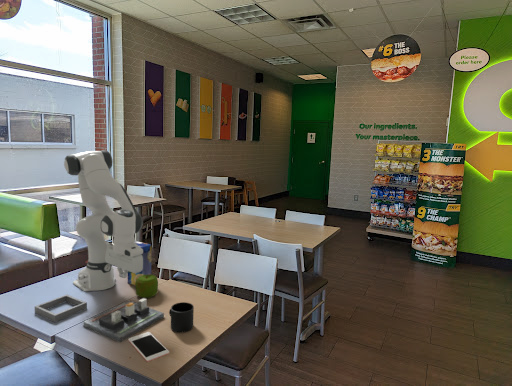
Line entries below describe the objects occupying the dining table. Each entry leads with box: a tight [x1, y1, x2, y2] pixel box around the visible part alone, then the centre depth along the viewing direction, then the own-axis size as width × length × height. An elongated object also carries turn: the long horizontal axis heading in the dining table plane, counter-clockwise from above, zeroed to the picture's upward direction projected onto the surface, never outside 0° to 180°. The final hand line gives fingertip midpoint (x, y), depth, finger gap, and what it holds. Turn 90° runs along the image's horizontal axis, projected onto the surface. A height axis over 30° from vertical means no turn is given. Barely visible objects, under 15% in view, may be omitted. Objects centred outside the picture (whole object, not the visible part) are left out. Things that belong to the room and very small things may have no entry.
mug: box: [168, 301, 195, 334], centre depth 149 cm, size 9×12×9 cm
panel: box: [83, 298, 165, 343], centre depth 151 cm, size 22×24×8 cm
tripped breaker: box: [126, 303, 134, 316], centre depth 149 cm, size 2×3×5 cm, turn 151°
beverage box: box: [127, 240, 152, 286], centre depth 192 cm, size 7×11×22 cm, turn 61°
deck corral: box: [34, 294, 88, 323], centre depth 158 cm, size 15×15×3 cm
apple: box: [134, 274, 159, 299], centre depth 178 cm, size 11×11×11 cm
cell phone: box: [127, 331, 170, 363], centre depth 134 cm, size 9×18×1 cm, turn 41°
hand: (122, 277), depth 155 cm, fingers closed
